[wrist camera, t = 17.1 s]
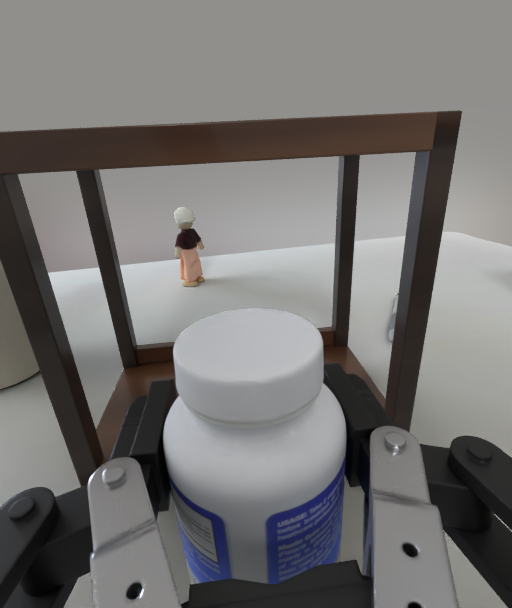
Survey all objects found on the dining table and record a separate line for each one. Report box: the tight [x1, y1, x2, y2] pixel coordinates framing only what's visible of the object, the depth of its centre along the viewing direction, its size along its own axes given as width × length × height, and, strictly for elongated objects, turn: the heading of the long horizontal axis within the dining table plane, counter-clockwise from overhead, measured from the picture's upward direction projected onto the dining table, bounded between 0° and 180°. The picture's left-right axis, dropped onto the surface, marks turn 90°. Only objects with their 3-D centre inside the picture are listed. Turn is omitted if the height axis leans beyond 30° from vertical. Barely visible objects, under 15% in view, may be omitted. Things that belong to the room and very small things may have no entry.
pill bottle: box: [163, 308, 347, 584], centre depth 11 cm, size 5×5×10 cm
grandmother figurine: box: [174, 207, 205, 287], centre depth 56 cm, size 8×4×13 cm, turn 169°
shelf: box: [0, 111, 462, 487], centre depth 23 cm, size 12×20×20 cm, turn 96°
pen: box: [389, 293, 399, 342], centre depth 41 cm, size 1×14×1 cm, turn 155°
